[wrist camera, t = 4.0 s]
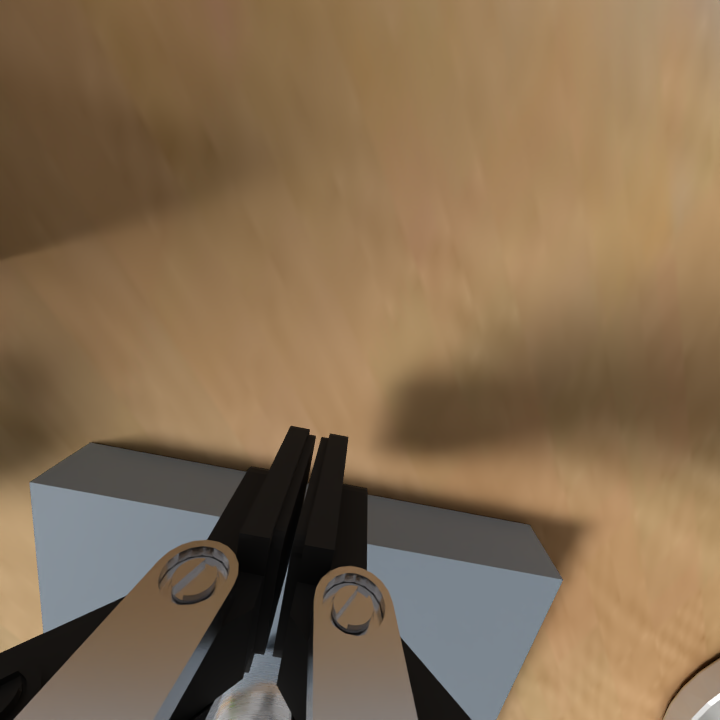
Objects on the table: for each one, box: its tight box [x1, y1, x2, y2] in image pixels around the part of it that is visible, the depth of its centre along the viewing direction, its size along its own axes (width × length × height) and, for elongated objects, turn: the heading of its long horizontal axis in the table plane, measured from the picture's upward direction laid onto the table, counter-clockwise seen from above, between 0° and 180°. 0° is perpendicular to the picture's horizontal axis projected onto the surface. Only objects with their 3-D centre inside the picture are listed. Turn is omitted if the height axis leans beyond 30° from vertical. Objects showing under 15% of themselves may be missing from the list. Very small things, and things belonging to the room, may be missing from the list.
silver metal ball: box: [213, 648, 290, 720], centre depth 11 cm, size 3×3×3 cm
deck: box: [30, 443, 563, 720], centre depth 16 cm, size 24×18×2 cm
